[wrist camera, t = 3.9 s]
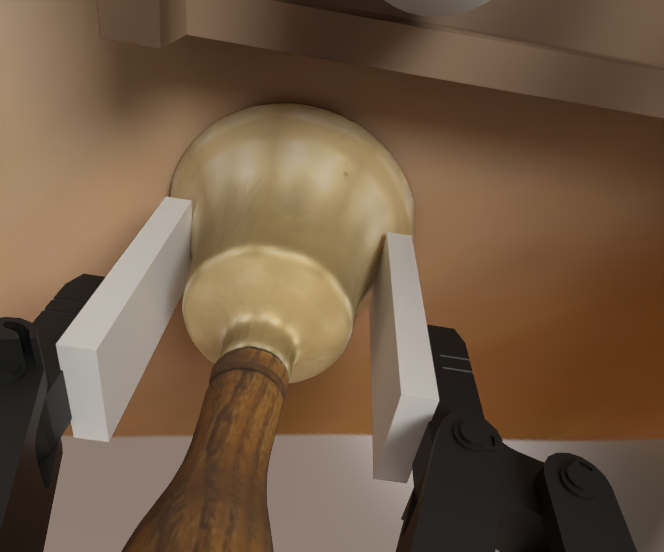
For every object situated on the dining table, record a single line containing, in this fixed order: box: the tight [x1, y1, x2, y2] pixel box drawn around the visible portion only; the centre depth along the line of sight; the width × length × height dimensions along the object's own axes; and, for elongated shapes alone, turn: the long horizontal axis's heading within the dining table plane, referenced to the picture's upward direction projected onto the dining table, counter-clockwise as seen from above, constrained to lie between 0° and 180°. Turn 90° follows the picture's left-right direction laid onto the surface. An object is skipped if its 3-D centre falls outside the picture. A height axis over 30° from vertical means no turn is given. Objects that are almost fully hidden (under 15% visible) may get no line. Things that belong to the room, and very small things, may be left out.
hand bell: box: [122, 103, 415, 552], centre depth 11 cm, size 8×8×16 cm
